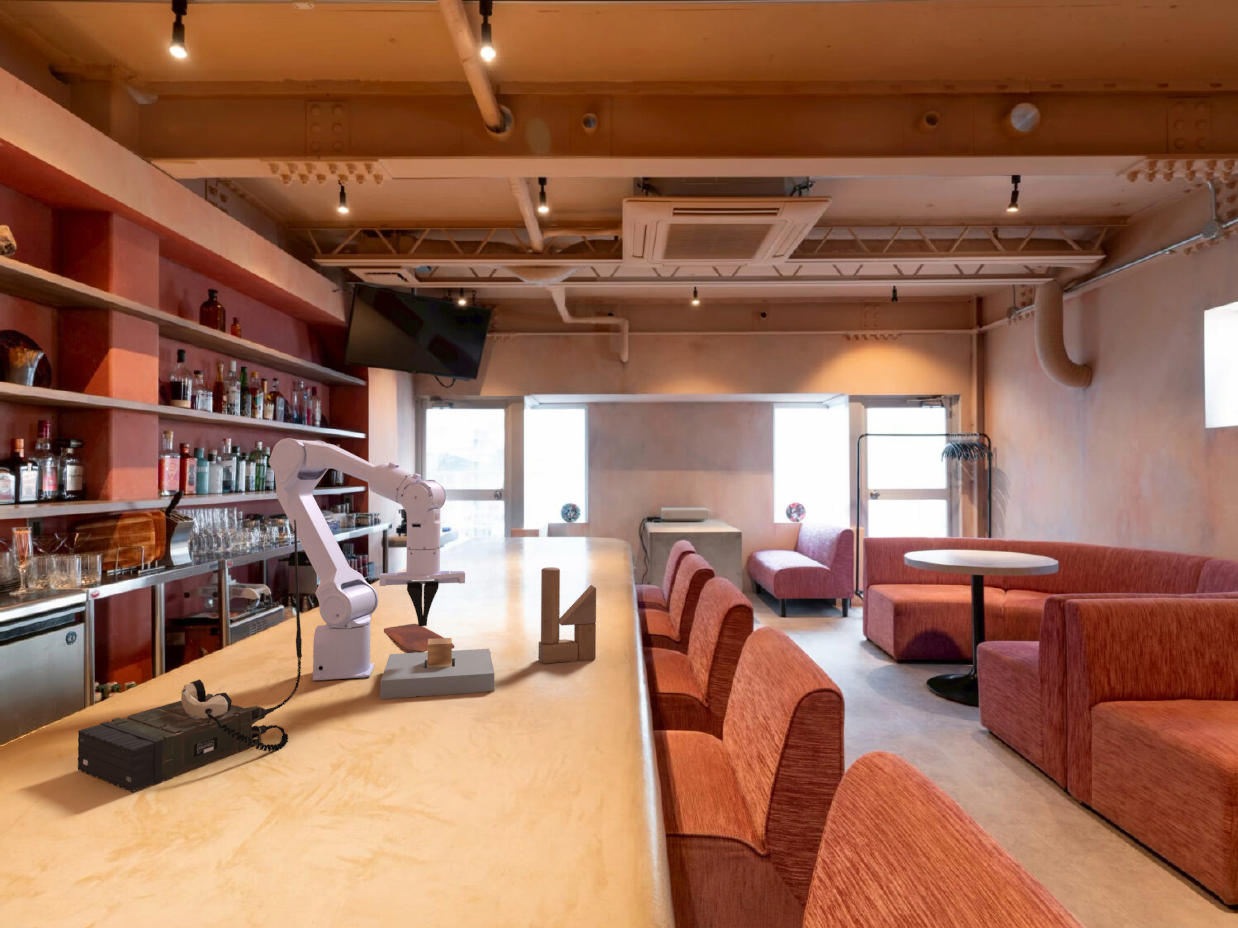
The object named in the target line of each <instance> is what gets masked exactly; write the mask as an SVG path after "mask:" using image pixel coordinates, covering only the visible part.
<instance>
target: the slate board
mask: <svg viewBox="0 0 1238 928" xmlns="http://www.w3.org/2000/svg"><path fill="white" fill-rule="evenodd" d="M427 663H428V651H426V652H420V653H408V652H405V653H404V652H403V653H389V655H388V658H387V661H386V665H385V668H384V671H383V673H382V676H381V678H380V700H386V699H389V700H390V699H404V698H403V697H405V698H416V696H420V697H429V696H431V697H432V696H433V695H434V696H445V695H458V694H459V695H460V694H474V693H487V691H490V692H495V669H494V665H493V660H492V655H491V651H490V648H477V649H474V648H473V649H461V650H459V649H457V650H456V649H455V650H452V667H439V668H427Z"/></svg>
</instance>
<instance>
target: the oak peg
mask: <svg viewBox="0 0 1238 928" xmlns="http://www.w3.org/2000/svg"><path fill="white" fill-rule="evenodd" d="M452 644H453V639H452V637H443V638H438V639H428V651H427V652H428V663H427V668H439V667H452V651H453V648H452Z"/></svg>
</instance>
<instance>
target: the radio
mask: <svg viewBox="0 0 1238 928" xmlns="http://www.w3.org/2000/svg"><path fill="white" fill-rule="evenodd" d="M293 531H294V532H293V533H294V541H293V542H294V576H295V578H294V579H295V581H294V582H295V604H296V605H295V611H296V635H295V647H296V657H297V670H296V671H297V675H296V680H295V681H296V682H295V684H294V688H293V690H292V692H291V694H289V695H288V697H287V698H286V699H283V701H282V702H281V703H279V704H277V705H276V706H273V707H269V708H264V707H261V706H257V705H255V706H249V707H242V706H238V705H235V704H232V702H233V699H231V697H230V695H228V693H227V692H220V693H219V692H218V693H216V694H212V693H207V694H206V688H205V685H204V682H203V681H202V680H201V679H197V680H193V681H191V682H190V683H185V684H184V686H183V688H182V689H181V699H180V700H178V701H176V702H175V701H174V702H170V703H167V704H164V705H161V706H156V707H154V708H151V709H146V710H142V711H140V712H136V713H133V714H130V715H128V716H126V717H122V718H120V717H116V718H112V719H111V721H104V722H103V721H102V722H100V724H97V725H93V726H89V727H86V728H81V729H79V730H78V731H77V733H78V738H77V742H78V744H77V745H78V746H77V756H78V757H77V770H78V771H81V772H82V773H86V774H87V775H91V776H92V777H96V778H97V779H98V780H99V779H102V781H103V782H105V781H107V782H108V784H113V785H114V786H118V787H119V788H120V789H121V788H123V789H124V790H125V791H129V792H130V793H133V792H135V791H138V790H140V789H142V788H145V787H147V786H151V785H157V784H159V783H162V781H163V780H164V781H168V780H171V779H173V777H174V776H176V775H178V774H184V773H186V772H190V771H191V770H194V769H198V768H201V767H203V766H206V765H209V763H213V762H215V761H218V760H221V759H223V758H225V757H228V756H231V755H234V754H236V753H237V752H242V751H245V750H248V749H249V748H251V747H255V749H256V750H259V751H262V750H263V752H267V751H268V752H271V751H272V752H274V751H278V750H280V749H283V747H285V746H286V745H287V743H288V742H289V741H288V740H289V737H288V736H289V734H288V733H286V731H285V729H284V728H283V727H281V726H279V725H276V724H271V725H264V724H263V725H260V726H259V725H255V723H257V722H258V721H261V720H263V719H265V718H266V716H267V715H269V714H272V713H273V712H275V711H276V710H278V709H280V708H281V707H283V705H285V704H286V703H288V702H289V701H290V700H291V699H292V698H293V696H294V695H295V694H296V691H297V690H298V688H299V686H300V685H299V683H300V680H301V676H302V675H301V674H302V673H301V670H302V668H301V667H302V661H301V660H302V657H303V655H302V648H303V647H302V646H303V645H302V644H303V642H302V640H303V639H302V630H301V629H302V628H301V618H300V617H301V616H300V595H299V593H300V591H299V589H300V588H299V570H298V569H299V562H298V559H299V557H298V537H297V529H296V520H294V529H293ZM272 729H278V730H279V731H280V732H281V733H282V735H281V737H280V742H279V743H275V744H272V743H271V744H270V743H268V744H264V742H262V735H263V734H265V733H267V731H268V730H272Z"/></svg>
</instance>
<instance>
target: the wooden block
mask: <svg viewBox="0 0 1238 928" xmlns="http://www.w3.org/2000/svg"><path fill="white" fill-rule="evenodd" d="M540 574H541V579H540V582H541V585H540V586H541V588H540V595H541V596H540V604H541V605H540V641H538V654H537V655H538V657H537V658H538V660H539V661H540V663H541V664H543V665H544V664H555V663H556V664H557V663H558V664H559V663H569V662H577V661H578V662H584V661H594V660H596V658H597V656H596V654H597V653H596V644H597V643H596V640H597V637H596V636H597V624H596V623H597V587H596V586H594V585H592V584H590V585H589V586H588V587H587V588H586V589H585V591H583V592H582V594H581V595H580V596H579V597H578V598H577V599H576V600H575V601H574V602H573V604H572V605H571V606H570V607H569V608H568V609H567V610H566V611H565V612H564V613H563V614H562V615H561V616H560V611H561V609H560V608H561V607H560V606H561V605H560V603H561V601H560V600H561V599H560V598H561V593H560V592H561V589H560V588H561V570H560V568H559V567H553V566H552V567H543V568H541V573H540ZM560 626H573V627H574V629H573V630H574V632H573V635H574V636H573V637H574V639H565V638H563V639H560Z"/></svg>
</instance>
